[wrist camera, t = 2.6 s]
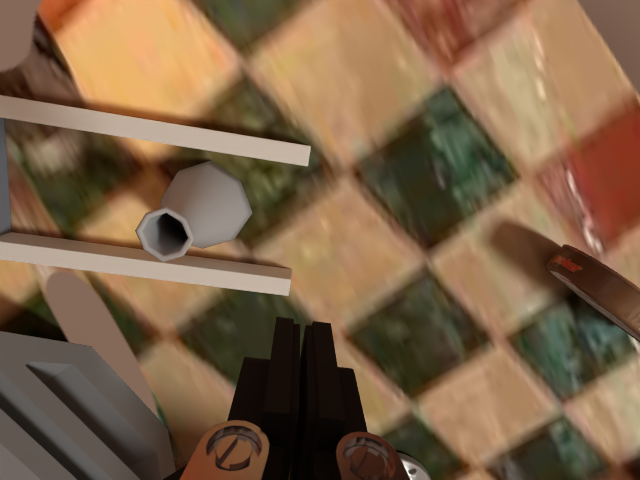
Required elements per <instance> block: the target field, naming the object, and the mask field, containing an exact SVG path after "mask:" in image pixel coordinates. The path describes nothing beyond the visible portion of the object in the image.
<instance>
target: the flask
mask: <svg viewBox="0 0 640 480" xmlns="http://www.w3.org/2000/svg"><path fill="white" fill-rule="evenodd" d="M251 214H252V211H251V208H250V205H249V202H248V200H247V197H246V194H245V191H244V189H243V186H242V183H241V181H240V180H239V179H237V178H236V177H234V176H233V175H231V174H230V173H229V172H227V171H226V170H224V169H223V168H221V167H220V166H219V165H217V164H216V163H214V162H213V161H208V162H205V163H201V164H198V165H195V166H192V167H189V168H186V169H182V170H179V171H178V172H177V174H176V175H175V177H174V179H173V180H172V182H171V183H170V185H169V187H168V188H167V190H166V191H165V193H164V195H163V196H162V198H161V209H157V210H154V211H151V212H148V213H146V214H145V216H144V217H143V219H142V221H141V222H140V224H139V225H138V227H137V229H136V230H135V232H136V234H137V236H138V238H139V240H140V242H141V244H142V247H143V249H144V251H146V252H148V253H149V254H151V255H153V256H154V257H156V258H157V259H159V260H161V261H162V262H165V261H168V260H171V259H175V258H178V257H181V256H184V255H185V253H186V252H187V250H188V249H189V247H190V246H195V247H199V248H203V249H204V248H207V247H210V246H213V245H216V244H220V243H223V242H226V241H229V240H233V239H235V237H236V236H237V234H238V233H239V231H240V230H241V229H242V227H243V226H244V224H245V223H246V221H247V220H248V219H249V217H250V216H251Z"/></svg>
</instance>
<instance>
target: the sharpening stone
mask: <svg viewBox="0 0 640 480" xmlns="http://www.w3.org/2000/svg"><path fill="white" fill-rule="evenodd" d="M174 472H176V468H175V463H174V458H173V453H172V448H171V443H170V438H169V433H168V429H167V428H166V427H165V425H164V424H163V423H162V422H161V421H160V420H159V419H158V418H157V417H156V416H155V414H153V412H152V411H151V410H150V409H149V408H148V407H147V406H146V405H145V404H144V403H143V401H141V399H140V398H139V397H138V396H137V395H136V394H135V393H134V392H133V391H132V390H131V389H130V387H129V386H127V384H126V383H125V382H124V381H123V380H122V379H121V378H120V377H119V376H118V375H117V373H116V372H115V371H114V370H113V369H112V368H111V367H110V366H109V365H108V364H107V363H106V362H105V360H103V358H102V357H101V356H100V355H99V354H98V353H97V352H96V351H95V350H94V349H93V348H92V347H91V346H86V345H80V344H74V343H68V342H62V341H56V340H50V339H44V338H38V337H32V336H26V335H20V334H14V333H8V332H2V331H0V480H163V479H164V478H166V477H168V476H169V475H171V474H173V473H174Z"/></svg>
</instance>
